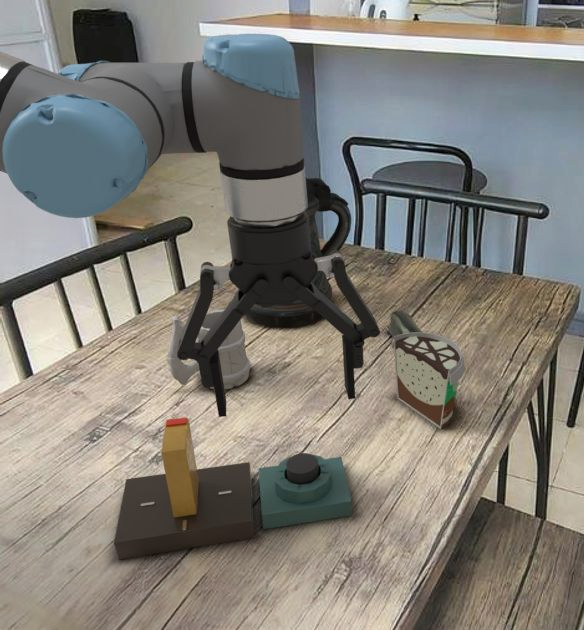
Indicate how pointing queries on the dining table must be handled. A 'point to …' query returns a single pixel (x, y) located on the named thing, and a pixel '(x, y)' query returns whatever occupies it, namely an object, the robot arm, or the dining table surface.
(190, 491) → the lock knob
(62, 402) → the dining table surface
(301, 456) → the bell button
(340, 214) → the beer stein
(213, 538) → the lock plate
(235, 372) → the mug
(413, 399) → the food container
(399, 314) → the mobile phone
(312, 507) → the push button box
